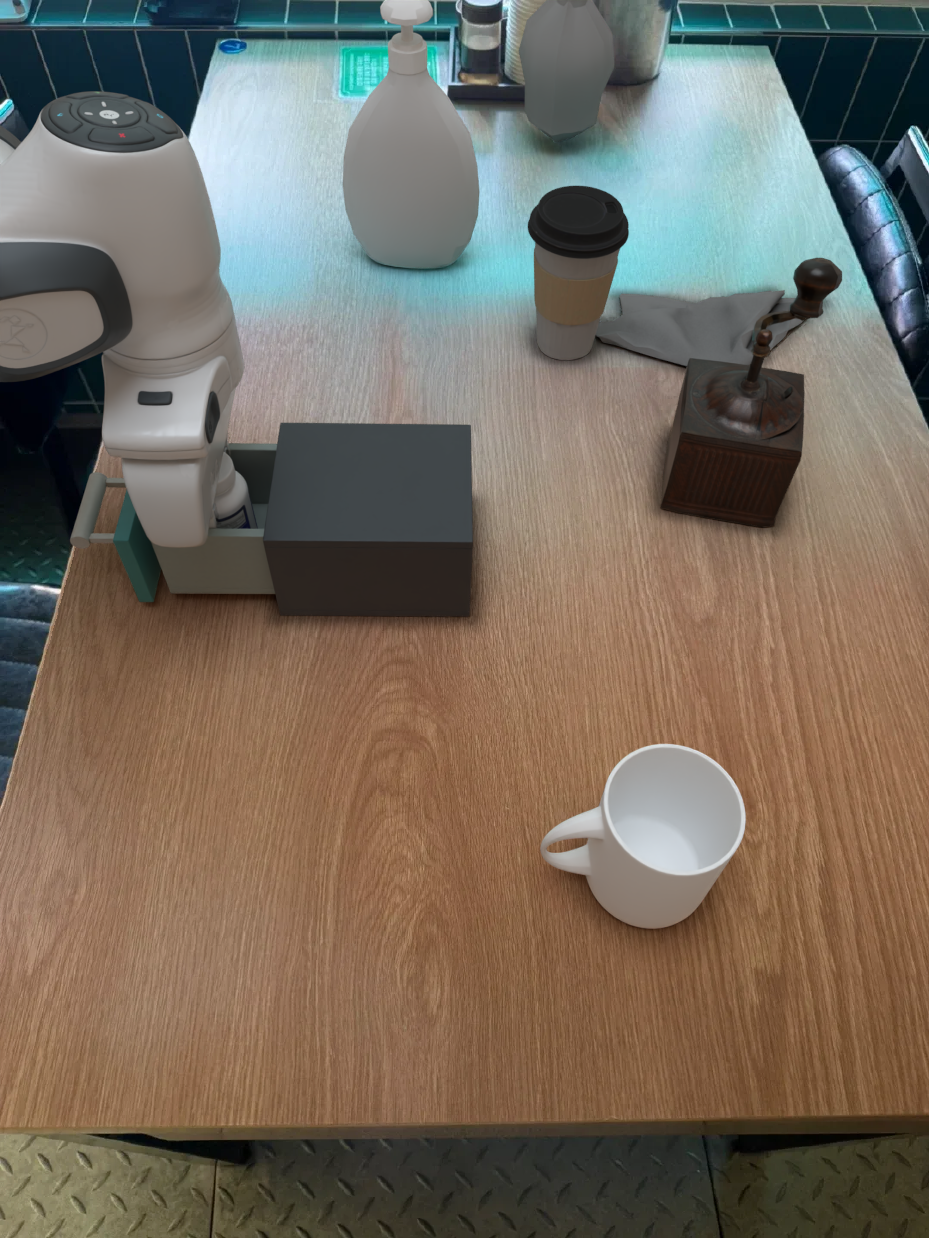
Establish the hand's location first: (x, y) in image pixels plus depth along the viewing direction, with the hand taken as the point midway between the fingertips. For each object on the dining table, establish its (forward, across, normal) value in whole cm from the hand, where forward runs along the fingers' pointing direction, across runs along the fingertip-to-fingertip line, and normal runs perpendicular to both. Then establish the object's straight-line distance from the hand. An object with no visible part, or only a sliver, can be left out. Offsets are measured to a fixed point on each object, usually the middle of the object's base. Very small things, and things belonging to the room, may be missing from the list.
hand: (213, 493), depth 75 cm
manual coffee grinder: (+8, -12, +45) cm, 47 cm away
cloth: (+8, -31, +47) cm, 57 cm away
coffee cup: (+8, -29, +31) cm, 43 cm away
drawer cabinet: (+8, 0, +13) cm, 15 cm away
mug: (+8, +28, +31) cm, 42 cm away
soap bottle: (+8, -44, +15) cm, 47 cm away
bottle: (+8, -69, +33) cm, 77 cm away
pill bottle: (+6, 0, 0) cm, 6 cm away
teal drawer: (+7, 0, -2) cm, 7 cm away
